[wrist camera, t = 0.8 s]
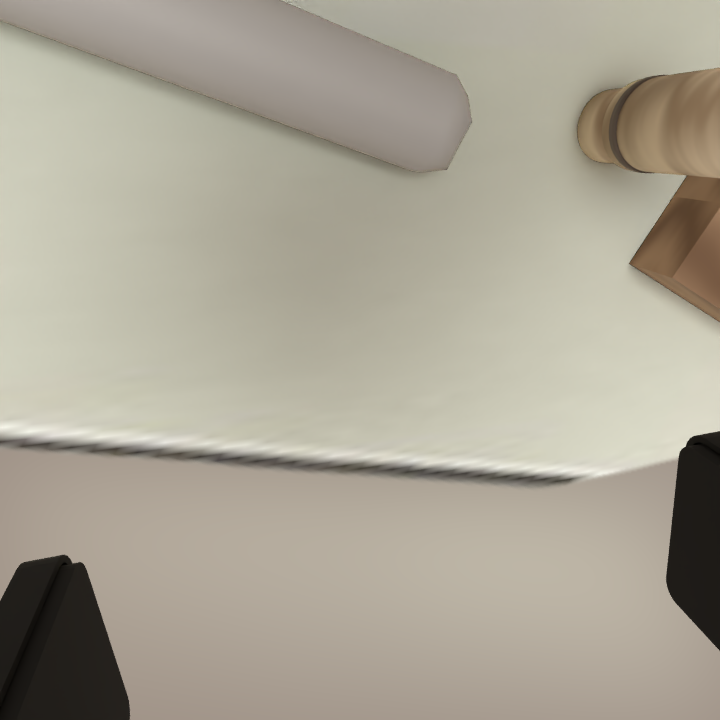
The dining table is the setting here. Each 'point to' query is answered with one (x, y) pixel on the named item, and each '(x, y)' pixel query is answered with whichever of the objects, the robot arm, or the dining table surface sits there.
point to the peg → (657, 125)
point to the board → (687, 245)
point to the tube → (273, 68)
